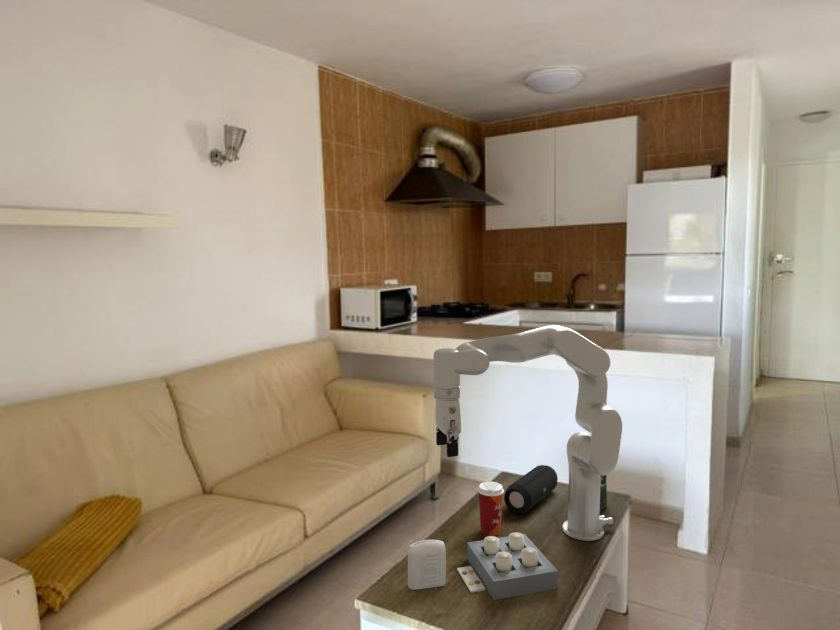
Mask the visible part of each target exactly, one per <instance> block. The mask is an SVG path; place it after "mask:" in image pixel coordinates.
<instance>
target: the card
mask: <svg viewBox="0 0 840 630" xmlns="http://www.w3.org/2000/svg"><path fill="white" fill-rule="evenodd" d="M457 572H458V574H459V575H460V577H461V579H462V581H463V582H464V584H465V585H466V587H467V589H468V590H469V592H470V593H477V592H482V591H484V592H485V591H486V588H485V586H484V585H483V583H482V581H481V580H480V578H479V577H478V575H477V574H476V572H475V571H474V569H473V567H472V566H471V565H468V566H463V567H462V566H461V567H457Z"/></svg>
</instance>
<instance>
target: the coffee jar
mask: <svg viewBox="0 0 840 630" xmlns="http://www.w3.org/2000/svg"><path fill="white" fill-rule="evenodd" d="M600 477H601V486H600V512H601V511H602V510H604V509H605V508H606V507H607V505H608V495H607V494H608V490H607V487H608V485H607V477H608V475H604V476H601V475H600Z"/></svg>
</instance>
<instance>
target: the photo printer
mask: <svg viewBox="0 0 840 630" xmlns="http://www.w3.org/2000/svg"><path fill="white" fill-rule="evenodd" d="M446 553H447V550H446V545H445V543H444V541H442V540H438V539H424V540H419V541H416V542H413V543H412V544H411V543H410V544H409V545H408V551H407V587H408V589H410V590H414V591H415V590H416V591H417V590H423V589H424V590H425V589H431V588H440V587H444V586H445V585H446V578H447V577H446V573H447V571H446V569H447V567H446V566H447V564H446V563H447V562H446V561H447V558H446V557H447V554H446Z"/></svg>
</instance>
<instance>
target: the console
mask: <svg viewBox="0 0 840 630" xmlns="http://www.w3.org/2000/svg"><path fill="white" fill-rule="evenodd" d="M522 534H523V535H524V548H534V549H536V550H537V551H538V567H532V568H526V569H525V568H524V566H523V565H522V551H515V552H511V550H510V549H509V535H508V536H501V537H497V538H498V539H499V552H508V553H510V554H511V555H512V571H508V572H502V573H498V571H497V570H496V555H490V556H486V554H485V553H484V539H482V540H476V541H474V540H473V541H469V542H466V559H467V561H468V563H469V564H470V566H471V567H472V569H473V570H474V572H475V573H476V575H477V576H478V578H479V580H480V581H481V583H482V584H483V586H484V587H485V590H486V591H487V592H488V594H489V595H490V597H491V598H492V600H493V601H496V600H502V599H509V598H513V597H518V596H524V595H530V594H535V593H541V592H547V591H552V590H558V588H559V587H558V581H559V580H558V579H559V577H558V576H559V570H558V569H557V568H556V567H555V566H554V565H553V563H552V562H550V560H549V559H548V558H547V556H545V555H544V553H543V552H541V550H540V549H539V548H538V547H537V546H536V545H535V543H534V542H533V541H532V540H531V539H530V538H529V537H528V536H527V535H526V534H525V533H522Z"/></svg>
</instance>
